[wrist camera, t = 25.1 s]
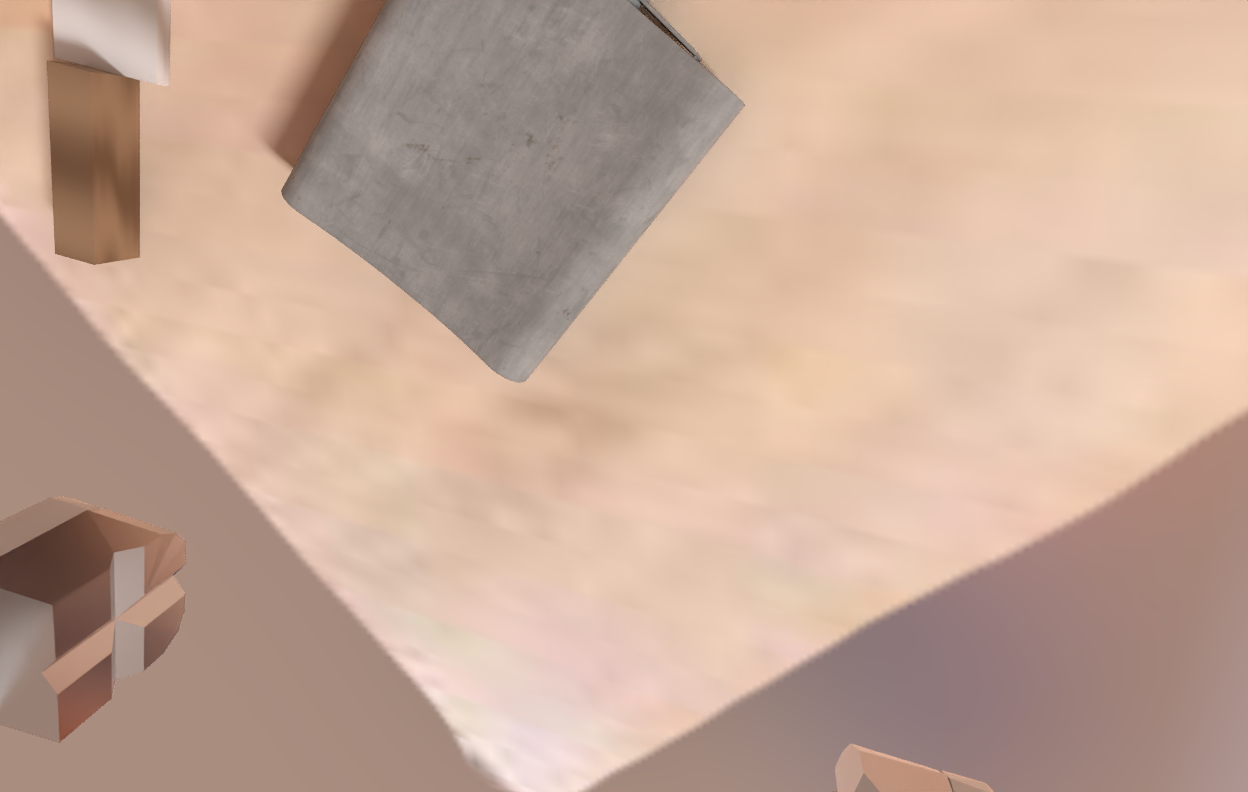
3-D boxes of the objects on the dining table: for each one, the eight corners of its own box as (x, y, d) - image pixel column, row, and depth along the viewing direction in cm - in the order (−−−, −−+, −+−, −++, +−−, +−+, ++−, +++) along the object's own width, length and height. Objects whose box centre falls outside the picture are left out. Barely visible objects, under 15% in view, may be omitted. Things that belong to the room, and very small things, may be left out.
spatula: (167, 265, 42) (124, 273, 39) (76, 239, 43) (26, 245, 40) (172, -81, 36) (120, -103, 33) (65, -108, 37) (4, -131, 34)
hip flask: (267, 188, 36) (487, -214, 29) (314, 184, 40) (518, -172, 33) (516, 390, 37) (785, 51, 30) (538, 367, 41) (781, 63, 34)
